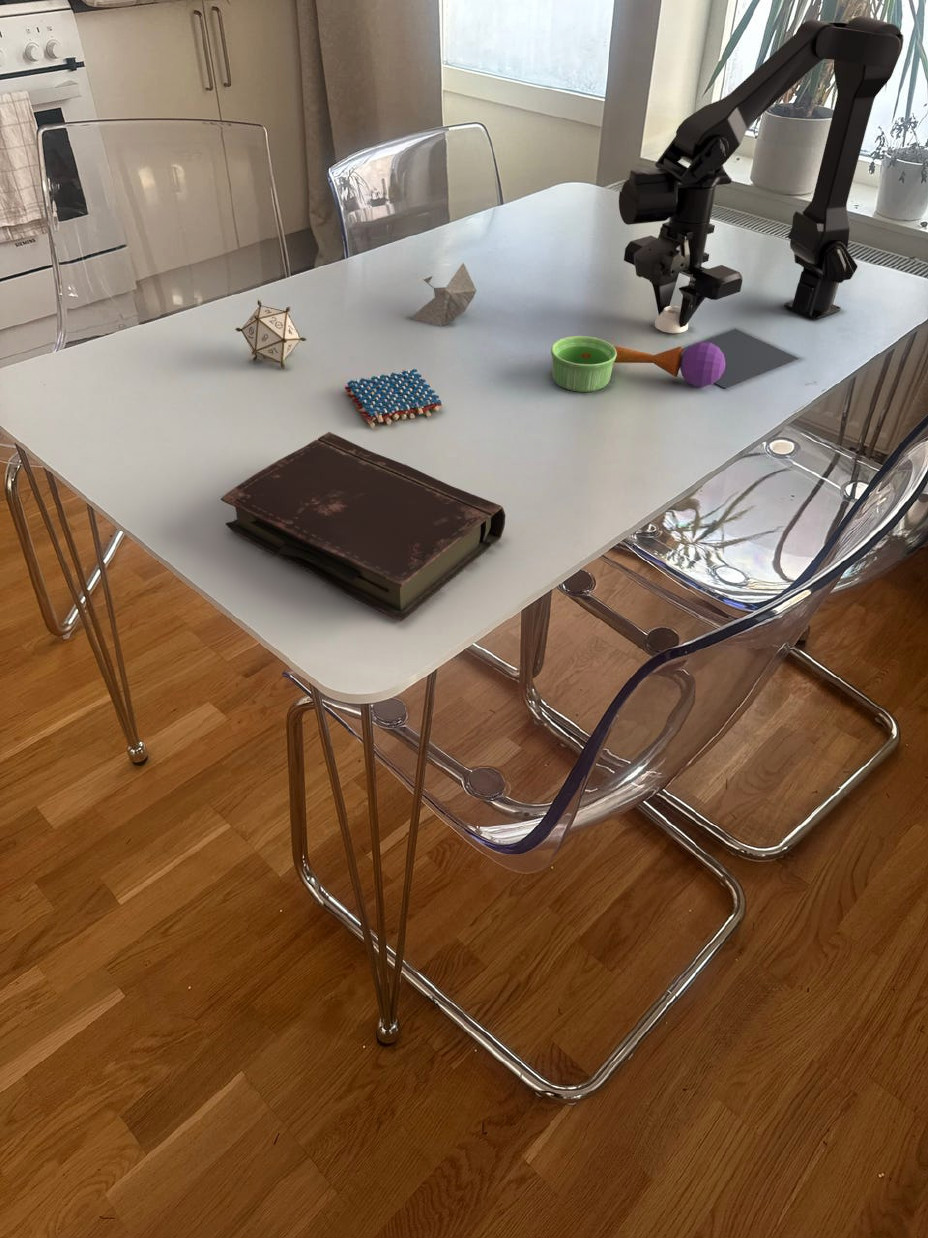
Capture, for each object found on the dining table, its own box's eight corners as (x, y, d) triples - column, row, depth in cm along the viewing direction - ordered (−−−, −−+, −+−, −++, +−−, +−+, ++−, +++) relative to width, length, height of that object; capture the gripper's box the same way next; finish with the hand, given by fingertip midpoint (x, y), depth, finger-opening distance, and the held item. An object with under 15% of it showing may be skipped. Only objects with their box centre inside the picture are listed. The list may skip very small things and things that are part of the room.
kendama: (589, 325, 135) (730, 340, 128) (585, 367, 137) (723, 383, 131) (578, 333, 130) (725, 349, 124) (575, 376, 132) (717, 393, 126)
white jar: (654, 320, 146) (654, 333, 142) (657, 301, 144) (657, 315, 140) (687, 322, 145) (687, 336, 142) (690, 304, 143) (690, 318, 140)
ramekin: (559, 359, 135) (562, 330, 132) (619, 371, 133) (624, 342, 130) (540, 386, 129) (542, 357, 126) (603, 399, 127) (607, 369, 124)
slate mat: (735, 329, 144) (735, 328, 144) (798, 358, 137) (798, 357, 137) (662, 356, 137) (662, 355, 137) (724, 388, 130) (725, 388, 129)
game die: (290, 381, 137) (327, 328, 132) (256, 385, 129) (295, 330, 125) (249, 338, 137) (285, 284, 133) (213, 340, 130) (249, 282, 125)
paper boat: (431, 328, 140) (390, 294, 143) (441, 350, 146) (402, 317, 149) (487, 271, 140) (445, 239, 143) (494, 295, 146) (454, 264, 149)
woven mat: (342, 392, 127) (341, 379, 126) (415, 379, 130) (415, 365, 129) (367, 429, 120) (366, 415, 118) (443, 414, 123) (443, 400, 122)
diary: (336, 462, 114) (332, 426, 110) (504, 537, 103) (506, 500, 100) (221, 535, 102) (213, 497, 99) (397, 628, 92) (395, 589, 88)
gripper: (603, 209, 135) (591, 313, 145) (700, 248, 124) (680, 358, 134) (658, 195, 140) (643, 297, 150) (755, 232, 129) (732, 339, 139)
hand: (672, 322), depth 143 cm, fingers open, 4 cm apart
